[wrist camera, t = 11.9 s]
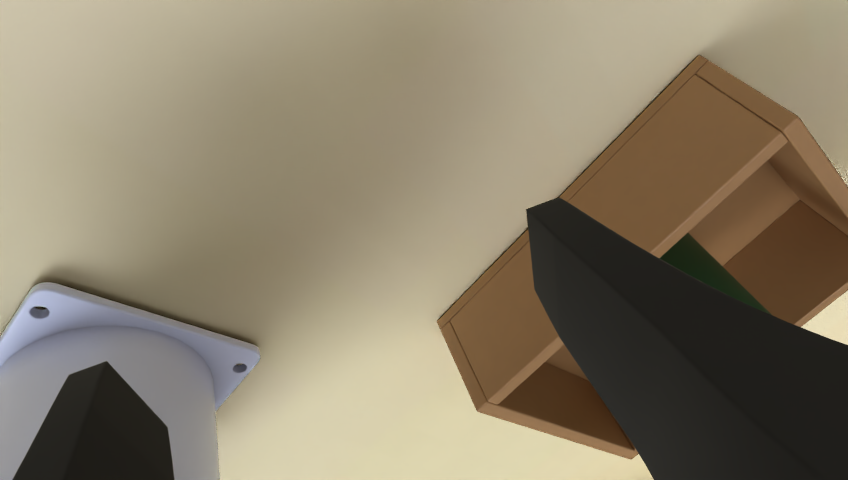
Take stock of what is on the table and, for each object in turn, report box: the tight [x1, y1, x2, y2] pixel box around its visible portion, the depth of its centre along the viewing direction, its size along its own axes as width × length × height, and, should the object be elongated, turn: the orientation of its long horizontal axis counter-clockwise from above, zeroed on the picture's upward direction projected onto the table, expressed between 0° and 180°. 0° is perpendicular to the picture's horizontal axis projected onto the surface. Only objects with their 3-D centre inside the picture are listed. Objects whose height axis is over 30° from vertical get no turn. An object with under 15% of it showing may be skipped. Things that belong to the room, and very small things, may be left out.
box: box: [437, 55, 848, 459], centre depth 25 cm, size 14×11×5 cm
